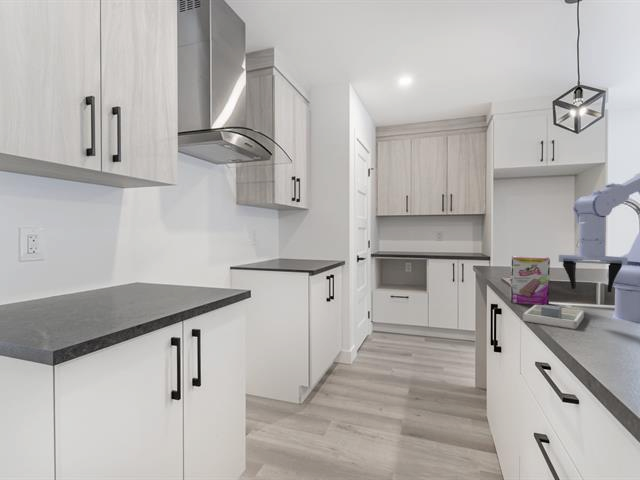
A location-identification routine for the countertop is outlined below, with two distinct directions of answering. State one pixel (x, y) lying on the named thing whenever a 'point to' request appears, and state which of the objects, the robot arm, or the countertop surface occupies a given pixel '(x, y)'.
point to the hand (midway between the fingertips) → (591, 289)
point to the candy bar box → (530, 280)
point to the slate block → (551, 311)
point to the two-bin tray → (568, 318)
